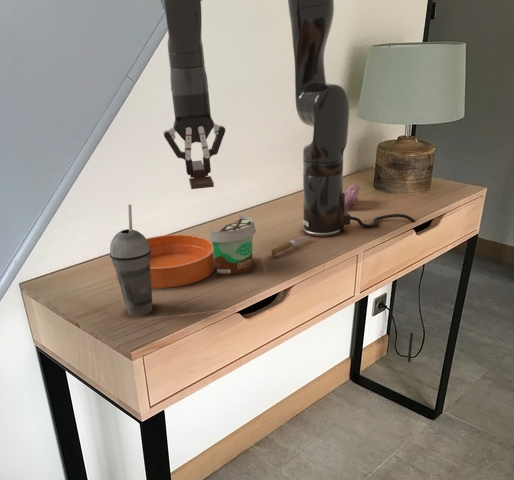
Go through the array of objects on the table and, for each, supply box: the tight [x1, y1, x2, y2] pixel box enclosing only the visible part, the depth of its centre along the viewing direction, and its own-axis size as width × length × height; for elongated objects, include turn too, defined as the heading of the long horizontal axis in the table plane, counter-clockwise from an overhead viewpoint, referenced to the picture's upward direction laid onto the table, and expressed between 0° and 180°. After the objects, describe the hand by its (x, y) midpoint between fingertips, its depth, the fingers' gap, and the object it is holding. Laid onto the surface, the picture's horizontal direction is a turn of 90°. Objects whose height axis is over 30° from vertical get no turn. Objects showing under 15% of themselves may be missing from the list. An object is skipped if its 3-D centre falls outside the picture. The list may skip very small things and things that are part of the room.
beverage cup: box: [109, 204, 153, 316], centre depth 103 cm, size 7×7×20 cm
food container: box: [209, 214, 257, 277], centre depth 120 cm, size 12×6×10 cm, turn 151°
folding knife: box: [271, 235, 310, 258], centre depth 132 cm, size 14×2×2 cm, turn 138°
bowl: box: [146, 234, 216, 289], centre depth 124 cm, size 20×20×4 cm
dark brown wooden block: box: [188, 160, 215, 190], centre depth 127 cm, size 5×15×3 cm, turn 10°
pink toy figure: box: [343, 183, 360, 210], centre depth 158 cm, size 10×5×7 cm, turn 168°
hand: (199, 175), depth 128 cm, fingers closed on dark brown wooden block, 2 cm apart
